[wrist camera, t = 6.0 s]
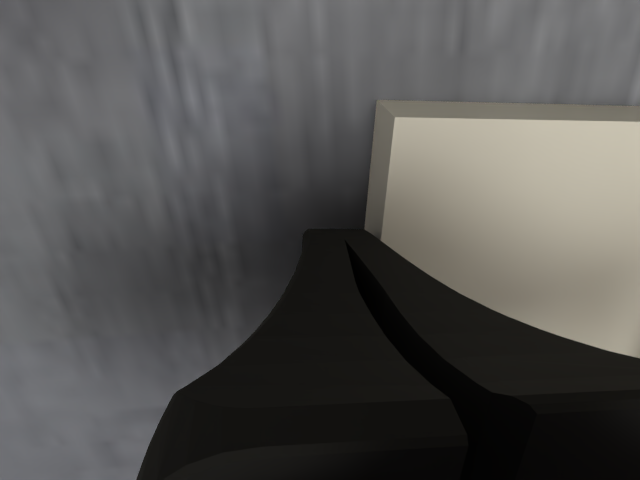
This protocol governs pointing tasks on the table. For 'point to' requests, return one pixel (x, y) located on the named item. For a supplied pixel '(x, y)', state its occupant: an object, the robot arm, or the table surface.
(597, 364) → the robot arm
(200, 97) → the table surface
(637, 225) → the cream tile
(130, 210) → the table surface
